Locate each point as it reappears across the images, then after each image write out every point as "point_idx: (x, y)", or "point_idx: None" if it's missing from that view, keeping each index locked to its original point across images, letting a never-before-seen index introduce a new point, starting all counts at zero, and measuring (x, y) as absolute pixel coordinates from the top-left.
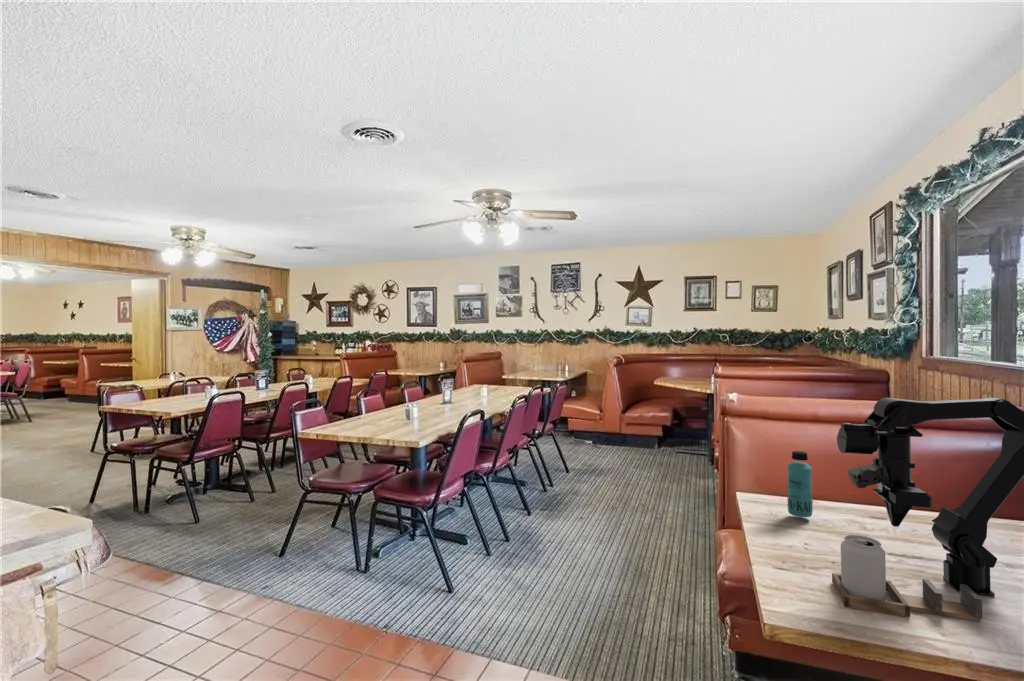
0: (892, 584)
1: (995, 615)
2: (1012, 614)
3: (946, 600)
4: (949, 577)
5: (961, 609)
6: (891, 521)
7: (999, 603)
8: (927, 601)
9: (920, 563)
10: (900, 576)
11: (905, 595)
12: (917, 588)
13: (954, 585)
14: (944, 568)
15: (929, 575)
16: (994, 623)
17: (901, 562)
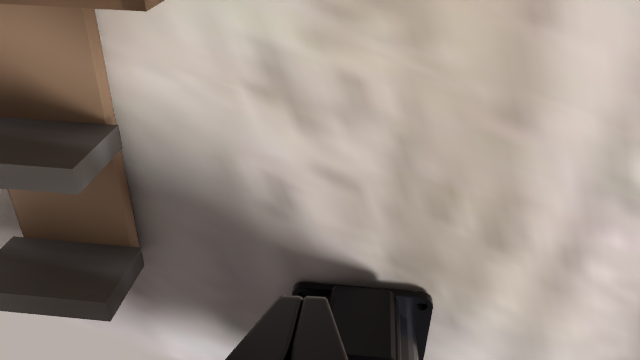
0: (94, 3)
1: (132, 305)
2: (169, 351)
3: (121, 202)
4: (331, 307)
5: (58, 219)
6: (283, 325)
7: None
8: (61, 121)
9: (602, 277)
10: (404, 123)
11: (77, 42)
12: (272, 146)
13: (325, 295)
14: (377, 328)
15: (452, 255)
16: None
17: (609, 199)
